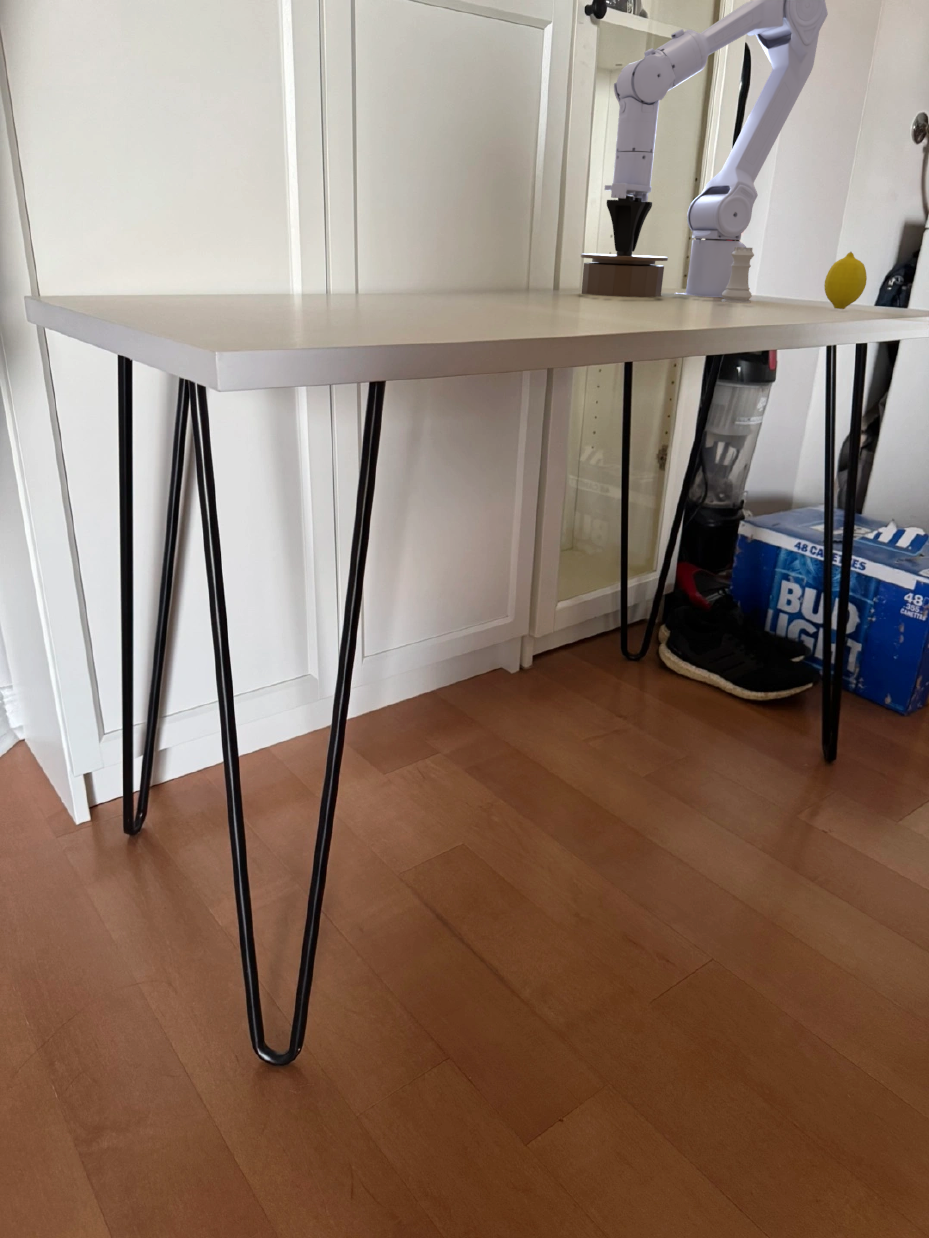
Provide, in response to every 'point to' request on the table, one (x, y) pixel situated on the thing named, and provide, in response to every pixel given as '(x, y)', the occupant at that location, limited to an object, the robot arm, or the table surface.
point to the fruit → (845, 281)
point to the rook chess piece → (739, 277)
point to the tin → (622, 279)
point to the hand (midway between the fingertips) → (624, 251)
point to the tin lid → (624, 258)
